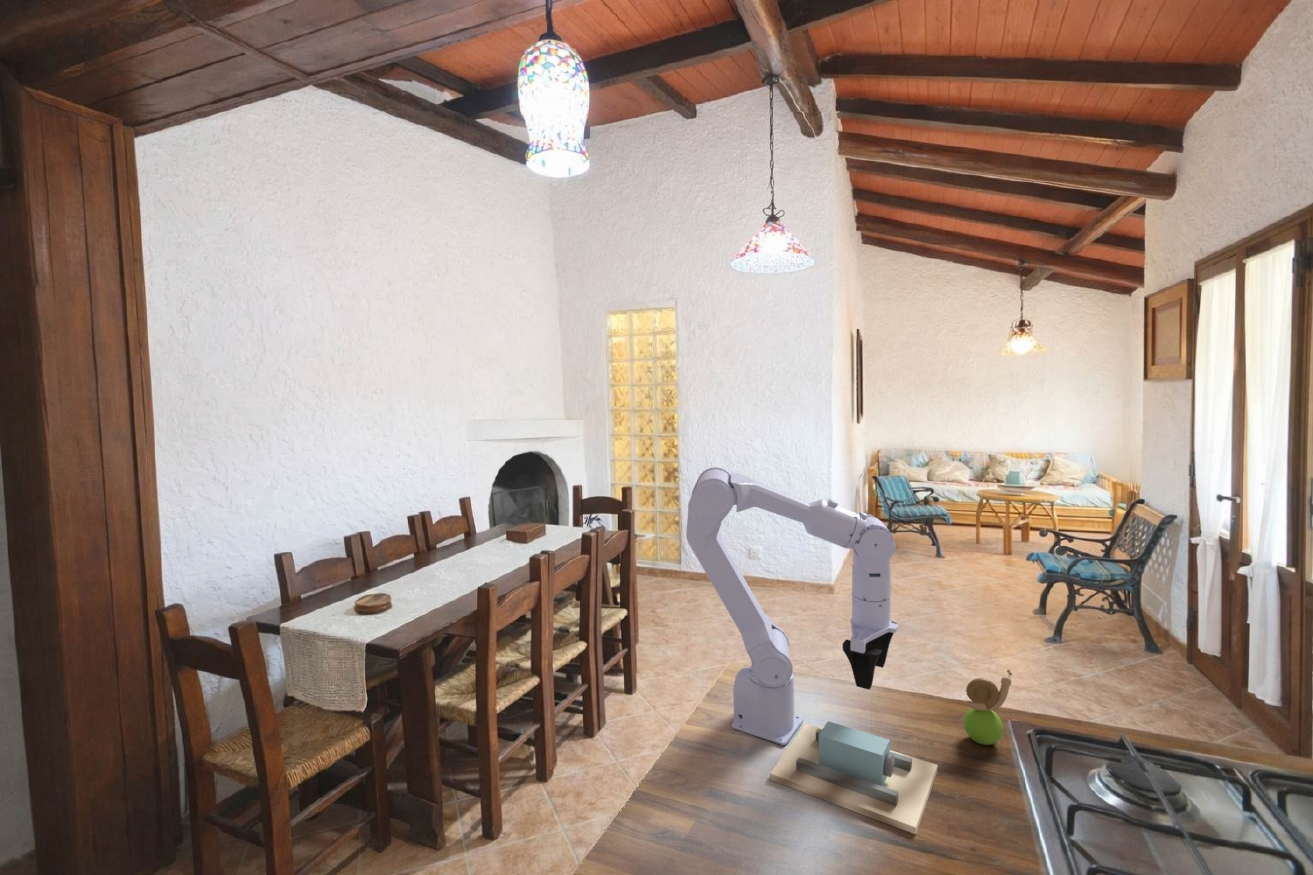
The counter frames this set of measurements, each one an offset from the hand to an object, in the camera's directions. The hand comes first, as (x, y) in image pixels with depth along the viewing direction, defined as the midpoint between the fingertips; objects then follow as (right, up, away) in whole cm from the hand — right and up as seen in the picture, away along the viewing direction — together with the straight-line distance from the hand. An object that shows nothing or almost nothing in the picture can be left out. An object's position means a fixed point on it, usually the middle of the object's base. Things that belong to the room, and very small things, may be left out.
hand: (870, 675), depth 100 cm
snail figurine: (+17, -9, -3) cm, 20 cm away
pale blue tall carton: (-6, -10, -9) cm, 15 cm away
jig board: (-5, -11, -9) cm, 15 cm away
